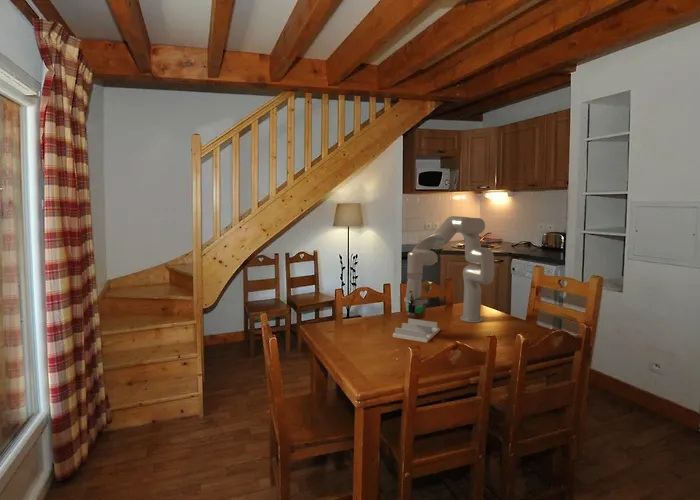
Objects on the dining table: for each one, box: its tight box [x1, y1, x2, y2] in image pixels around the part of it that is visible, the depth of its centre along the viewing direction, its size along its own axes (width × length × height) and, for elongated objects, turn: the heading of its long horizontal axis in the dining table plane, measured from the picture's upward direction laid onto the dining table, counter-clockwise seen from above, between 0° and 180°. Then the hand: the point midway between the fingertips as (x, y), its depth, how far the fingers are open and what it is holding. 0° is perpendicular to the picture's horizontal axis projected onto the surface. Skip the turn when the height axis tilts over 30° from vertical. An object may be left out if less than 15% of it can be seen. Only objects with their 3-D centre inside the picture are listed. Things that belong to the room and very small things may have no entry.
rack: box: [392, 318, 441, 343], centre depth 232 cm, size 21×18×4 cm
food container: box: [403, 295, 429, 320], centre depth 226 cm, size 12×6×10 cm, turn 62°
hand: (413, 310), depth 226 cm, fingers closed on food container, 6 cm apart
